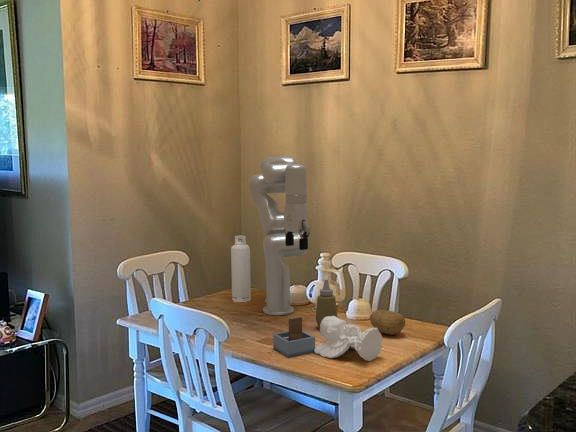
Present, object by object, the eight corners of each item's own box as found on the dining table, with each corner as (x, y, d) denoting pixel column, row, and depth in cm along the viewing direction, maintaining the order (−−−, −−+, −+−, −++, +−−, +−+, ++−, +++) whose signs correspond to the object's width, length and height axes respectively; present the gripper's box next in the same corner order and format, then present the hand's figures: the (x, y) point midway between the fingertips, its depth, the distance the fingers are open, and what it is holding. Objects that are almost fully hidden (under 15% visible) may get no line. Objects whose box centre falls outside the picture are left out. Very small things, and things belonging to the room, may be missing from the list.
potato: (381, 326, 223) (381, 304, 222) (411, 335, 212) (411, 313, 211) (362, 331, 217) (362, 309, 216) (392, 341, 206) (392, 318, 205)
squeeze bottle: (336, 332, 216) (336, 283, 214) (313, 331, 217) (313, 282, 215) (338, 325, 224) (338, 278, 222) (317, 324, 225) (316, 277, 223)
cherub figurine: (358, 335, 179) (309, 315, 193) (355, 374, 182) (307, 351, 196) (384, 324, 189) (335, 306, 202) (381, 361, 191) (333, 341, 205)
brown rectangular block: (288, 347, 197) (288, 317, 196) (299, 345, 199) (299, 315, 198) (291, 349, 196) (291, 319, 194) (302, 347, 198) (302, 317, 196)
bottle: (230, 302, 258) (228, 237, 255) (234, 297, 266) (233, 234, 263) (248, 302, 257) (247, 237, 254) (252, 298, 265) (251, 235, 262)
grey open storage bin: (273, 348, 199) (273, 334, 199) (299, 343, 204) (299, 329, 204) (288, 357, 191) (288, 342, 190) (315, 352, 196) (315, 337, 195)
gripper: (275, 198, 219) (275, 245, 221) (299, 202, 204) (300, 252, 206) (292, 197, 223) (293, 243, 225) (318, 201, 208) (318, 250, 210)
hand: (296, 247), depth 215 cm, fingers open, 9 cm apart
